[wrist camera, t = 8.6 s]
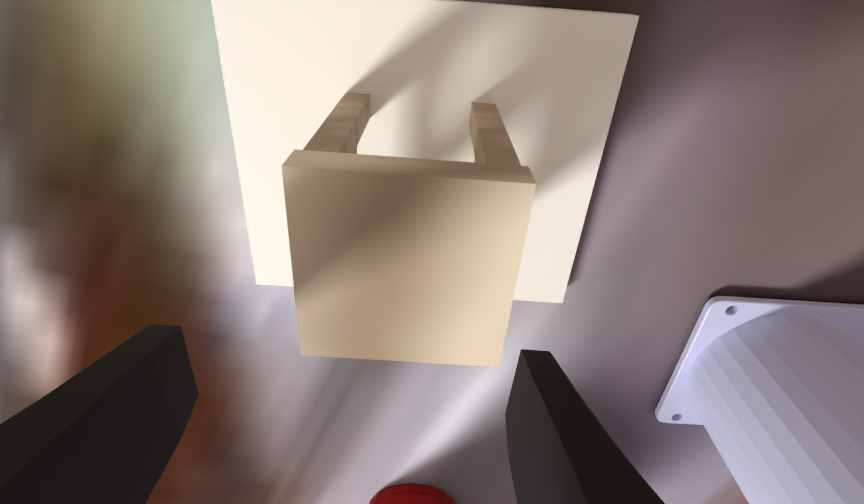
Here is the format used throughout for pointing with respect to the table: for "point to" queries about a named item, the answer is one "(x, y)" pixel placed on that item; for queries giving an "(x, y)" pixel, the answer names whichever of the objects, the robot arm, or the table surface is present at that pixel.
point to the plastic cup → (411, 495)
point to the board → (425, 102)
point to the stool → (405, 243)
